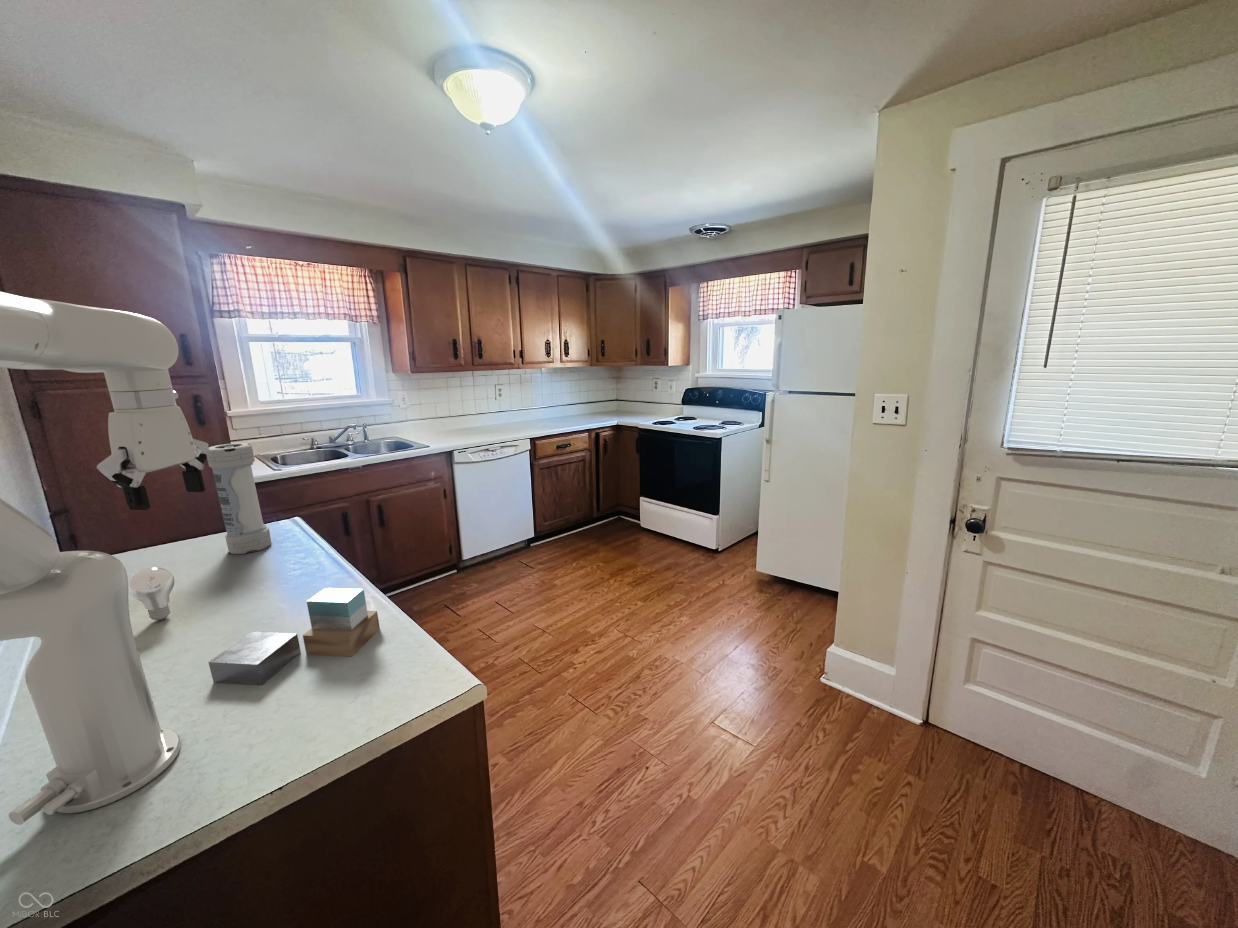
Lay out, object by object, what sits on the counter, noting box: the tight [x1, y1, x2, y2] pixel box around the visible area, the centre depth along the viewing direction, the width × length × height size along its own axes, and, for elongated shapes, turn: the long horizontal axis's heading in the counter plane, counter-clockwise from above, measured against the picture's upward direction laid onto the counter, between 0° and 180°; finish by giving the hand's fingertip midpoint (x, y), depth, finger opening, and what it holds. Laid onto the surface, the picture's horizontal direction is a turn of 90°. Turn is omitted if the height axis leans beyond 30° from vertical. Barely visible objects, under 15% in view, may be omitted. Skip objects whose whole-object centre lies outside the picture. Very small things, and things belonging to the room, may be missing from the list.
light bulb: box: [128, 565, 176, 622], centre depth 101 cm, size 7×7×12 cm
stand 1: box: [208, 631, 302, 686], centre depth 86 cm, size 9×9×4 cm
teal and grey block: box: [306, 587, 368, 632], centre depth 92 cm, size 8×5×6 cm, turn 85°
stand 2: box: [302, 610, 381, 658], centre depth 93 cm, size 9×9×4 cm
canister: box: [206, 442, 272, 555], centre depth 136 cm, size 10×10×30 cm
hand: (169, 500), depth 83 cm, fingers open, 9 cm apart
